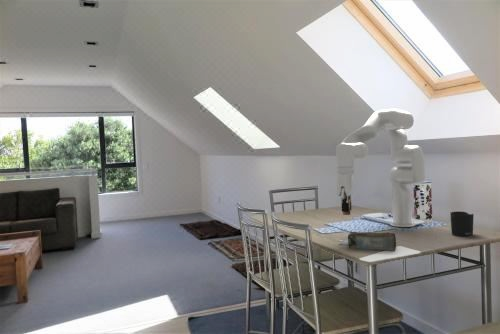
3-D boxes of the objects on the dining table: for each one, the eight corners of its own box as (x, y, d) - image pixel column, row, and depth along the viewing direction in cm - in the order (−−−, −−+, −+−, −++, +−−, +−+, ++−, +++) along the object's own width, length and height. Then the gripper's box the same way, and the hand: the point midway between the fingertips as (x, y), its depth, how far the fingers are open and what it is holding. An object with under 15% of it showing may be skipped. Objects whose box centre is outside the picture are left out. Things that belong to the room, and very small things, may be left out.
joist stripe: (344, 236, 185) (344, 235, 185) (363, 237, 181) (363, 237, 181) (334, 244, 171) (334, 243, 171) (354, 245, 167) (354, 245, 167)
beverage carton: (350, 244, 170) (350, 229, 170) (396, 247, 162) (396, 231, 162) (347, 249, 163) (347, 233, 162) (395, 252, 155) (395, 236, 155)
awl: (351, 213, 174) (350, 190, 174) (349, 215, 171) (348, 191, 171) (344, 213, 176) (343, 190, 176) (341, 214, 173) (341, 191, 173)
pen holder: (450, 235, 176) (450, 214, 176) (451, 231, 184) (450, 211, 184) (474, 237, 171) (473, 215, 171) (473, 233, 180) (473, 211, 179)
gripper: (342, 169, 182) (343, 207, 183) (331, 172, 167) (333, 213, 168) (358, 169, 178) (359, 208, 179) (348, 172, 164) (350, 214, 165)
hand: (346, 210), depth 174 cm, fingers closed on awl, 3 cm apart
